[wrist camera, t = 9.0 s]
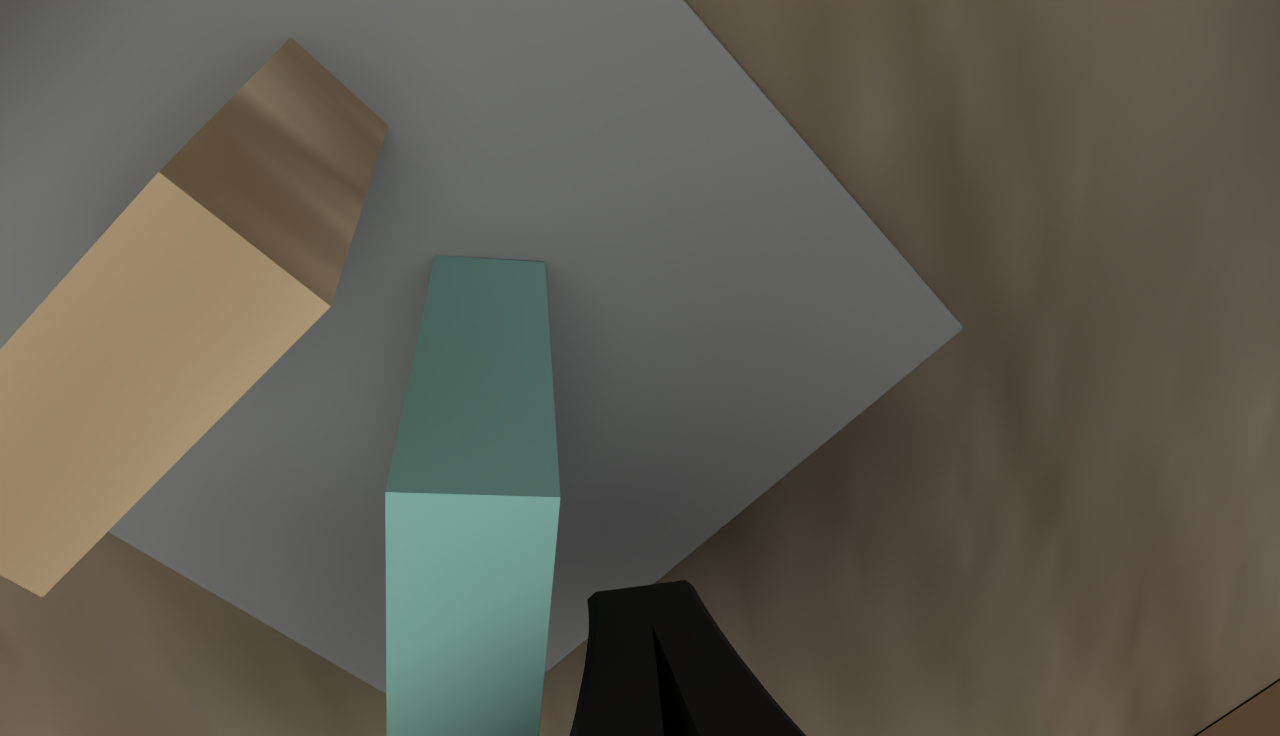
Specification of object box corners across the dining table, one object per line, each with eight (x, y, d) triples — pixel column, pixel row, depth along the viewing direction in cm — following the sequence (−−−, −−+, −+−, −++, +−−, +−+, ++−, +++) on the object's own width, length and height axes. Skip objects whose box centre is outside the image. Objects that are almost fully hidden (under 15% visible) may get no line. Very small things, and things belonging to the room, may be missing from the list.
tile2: (388, 125, 13) (331, 307, 8) (203, 320, 14) (42, 597, 9) (290, 37, 13) (157, 173, 7) (102, 247, 13) (-137, 502, 8)
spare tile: (545, 262, 14) (561, 497, 9) (528, 487, 16) (533, 791, 11) (434, 255, 14) (385, 492, 9) (430, 484, 16) (386, 794, 11)
